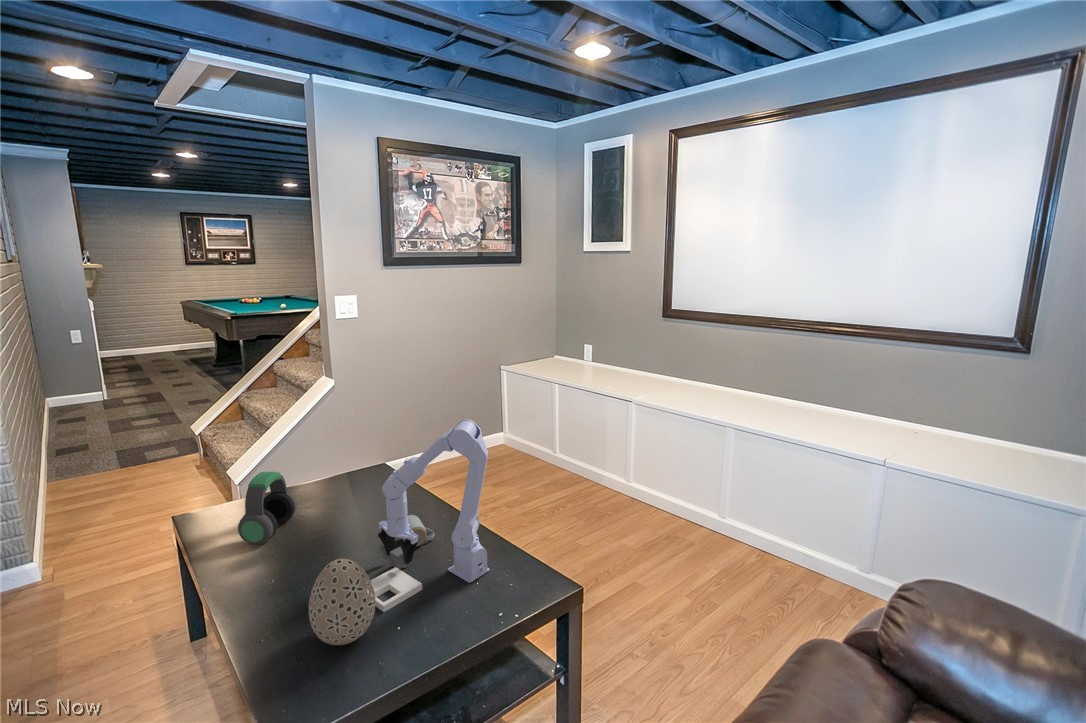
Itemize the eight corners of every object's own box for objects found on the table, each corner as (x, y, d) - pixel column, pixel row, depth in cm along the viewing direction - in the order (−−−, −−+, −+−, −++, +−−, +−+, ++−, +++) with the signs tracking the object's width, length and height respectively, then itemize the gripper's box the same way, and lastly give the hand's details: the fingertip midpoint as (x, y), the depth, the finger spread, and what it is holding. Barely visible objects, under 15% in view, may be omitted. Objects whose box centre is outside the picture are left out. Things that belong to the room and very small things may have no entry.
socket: (422, 589, 143) (421, 582, 142) (384, 612, 134) (383, 605, 133) (395, 572, 150) (395, 566, 150) (358, 593, 141) (357, 586, 141)
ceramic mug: (405, 552, 161) (404, 528, 159) (397, 539, 167) (396, 517, 166) (438, 542, 166) (438, 520, 165) (429, 531, 173) (428, 509, 172)
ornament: (356, 608, 135) (350, 537, 131) (389, 634, 126) (385, 559, 122) (300, 640, 124) (292, 564, 120) (332, 671, 115) (325, 590, 111)
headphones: (271, 547, 163) (265, 487, 158) (236, 547, 163) (229, 487, 159) (300, 517, 181) (295, 463, 177) (269, 517, 181) (263, 462, 177)
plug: (409, 566, 153) (408, 550, 152) (398, 572, 150) (397, 556, 149) (401, 561, 156) (400, 546, 155) (390, 567, 153) (389, 551, 152)
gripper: (425, 516, 149) (427, 559, 152) (391, 502, 157) (393, 543, 160) (406, 526, 143) (408, 571, 146) (371, 512, 151) (374, 554, 154)
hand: (399, 557), depth 152 cm, fingers open, 7 cm apart
